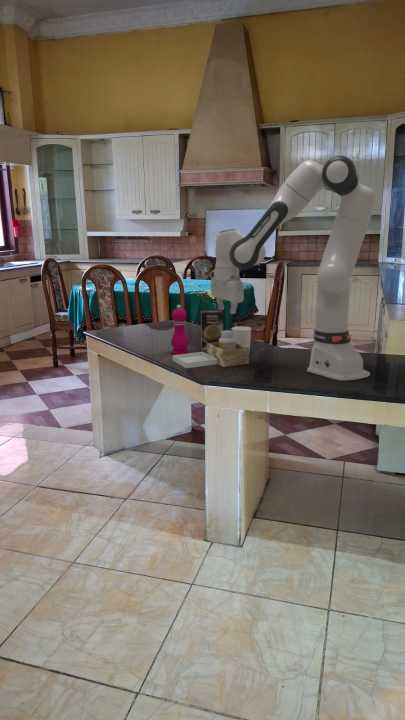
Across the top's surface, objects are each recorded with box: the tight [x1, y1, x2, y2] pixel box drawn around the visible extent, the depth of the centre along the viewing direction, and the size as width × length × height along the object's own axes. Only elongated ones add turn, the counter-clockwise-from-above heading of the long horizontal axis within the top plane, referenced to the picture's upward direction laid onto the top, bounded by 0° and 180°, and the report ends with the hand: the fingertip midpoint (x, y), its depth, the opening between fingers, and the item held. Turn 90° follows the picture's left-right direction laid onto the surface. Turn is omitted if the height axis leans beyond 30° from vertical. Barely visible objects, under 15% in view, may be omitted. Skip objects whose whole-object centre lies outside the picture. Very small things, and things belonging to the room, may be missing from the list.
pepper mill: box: [170, 304, 190, 355], centre depth 217 cm, size 7×7×20 cm
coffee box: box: [200, 309, 224, 352], centre depth 224 cm, size 9×6×16 cm
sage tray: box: [172, 351, 219, 369], centre depth 205 cm, size 13×13×2 cm
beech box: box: [206, 342, 250, 368], centre depth 205 cm, size 15×11×6 cm
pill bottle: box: [219, 329, 236, 351], centre depth 205 cm, size 6×6×12 cm
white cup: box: [231, 326, 252, 353], centre depth 218 cm, size 8×8×10 cm
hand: (226, 311), depth 201 cm, fingers open, 8 cm apart
